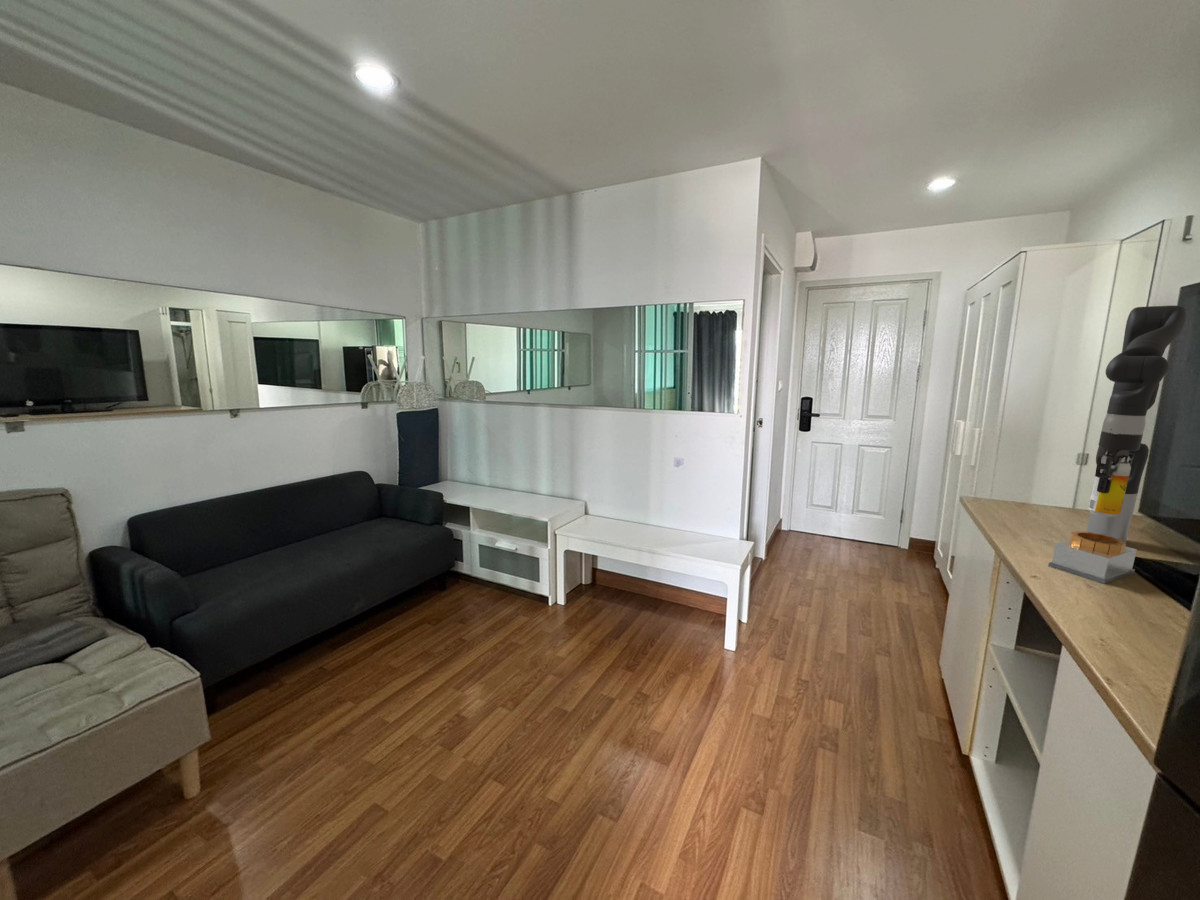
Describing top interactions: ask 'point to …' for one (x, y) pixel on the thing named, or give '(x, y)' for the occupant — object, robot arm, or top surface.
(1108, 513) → the beer can
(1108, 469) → the robot arm
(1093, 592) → the top surface
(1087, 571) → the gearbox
